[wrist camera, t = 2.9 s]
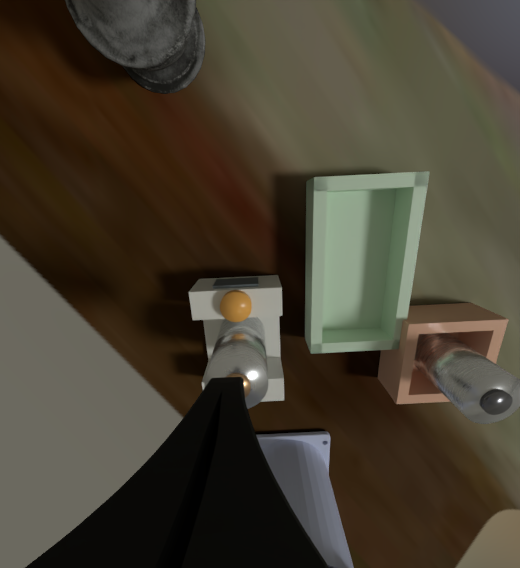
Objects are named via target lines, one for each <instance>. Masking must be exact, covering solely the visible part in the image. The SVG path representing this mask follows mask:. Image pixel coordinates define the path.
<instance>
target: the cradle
mask: <svg viewBox="0 0 520 568" xmlns="http://www.w3.org/2000/svg"><path fill="white" fill-rule="evenodd" d="M189 299H190V306H191V313H192V319H193V320H203V323H204V331H205V338H206V346H207V354H208V364H207V367H206V370H205V374H204V377H203V380H202V388H203V390H204V388H205V384H204V382H205V377H206V373H207V370H208V367H209V363H210V360H211V357H212V353H213V350H214V347H215V343H216V340H217V336H218V333H219V330H220V326H221V324H222V322H223V320H224V319H227V320H229V321H231V322H241V321H243V320H245V319H246V318H250V317H258V318H259V319H260V320H261V322H262V323H263V325H264V329H265V342H266V356H267V370H268V390H267V393H266V395H265V397H264V398H263V399H262V400H261V401H260V402H262V401H282V400H284V376H283V370H282V364H281V358H280V323H279V316H282V286H281V283H280V280H279V277H278V275H268V276H248V277H228V278H208V279H199V280H198V281H197V282H196V283H195V285H194V286H193V287H192V288H191V290H190V291H189Z"/></svg>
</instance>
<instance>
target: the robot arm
mask: <svg viewBox="0 0 520 568" xmlns="http://www.w3.org/2000/svg"><path fill="white" fill-rule="evenodd" d="M329 454H330V435H329V433H328V432H326V431H320V432H300V433H280V434H260V435H256V434H255V431H254V428H253V425H252V422H251V419H250V416H249V413H248V409H247V406H246V401H245V392H244V380H243V378H242V377H221V378H211V379H210V380H209V382H208V384H207V385H206V387H205V388H204V390H203V391H202V393H201V394H200V396H199V397H198V399H197V400H196V402H195V403H194V404H193V406H192V407H191V409H190V410H189V411H188V413H187V414H186V415H185V417H184V418H183V419H182V421H181V422H180V423H179V425H178V426H177V427H176V428H175V430H174V431H173V432H172V433H171V434H170V436H169V437H168V438H167V439H166V441H165V442H164V443H163V444H162V445H161V446H160V447H159V449H158V450H157V451H156V452H155V453H154V454H153V455H152V456H151V458H149V460H148V461H147V462H146V463H145V464H144V465H143V466H142V467H141V468H140V469H139V470H138V471H137V472H136V473H135V474H134V475H133V476H132V477H131V478H130V479H129V480H128V481H127V482H126V483H125V484H124V485H123V486H122V487H121V488H120V489H119V490H118V491H117V492H116V493H114V494H113V495H112V496H111V497H110V498H109V499H108V500H107V501H106V502H105V503H103V504H102V505H101V506H100V507H99V508H98V509H97V510H95V511H94V512H93V513H92V514H91V515H90V516H89V517H87V518H86V519H85V520H84V521H83V522H82V523H81V524H79V525H78V526H77V527H76V528H75V529H73V530H72V531H71V532H70V533H69V534H67V535H66V536H65V537H64V538H62V539H61V540H60V541H59V542H57V543H56V544H55V545H54V546H52V547H51V548H50V549H48V550H47V551H46V552H45V553H43V554H42V555H41V556H40V557H38V558H37V559H36V560H34V561H33V562H32V563H30V564H29V565H28V566H27V567H25V568H354V567H353V564H352V560H351V556H350V553H349V549H348V545H347V541H346V538H345V534H344V530H343V527H342V523H341V519H340V516H339V512H338V508H337V505H336V501H335V497H334V493H333V490H332V486H331V482H330V479H329V475H328V473H329Z"/></svg>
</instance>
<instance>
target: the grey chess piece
mask: <svg viewBox="0 0 520 568" xmlns="http://www.w3.org/2000/svg"><path fill="white" fill-rule="evenodd" d="M65 1H66V5H67V8H68V10H69V12H70V14H71V16H72V18H73V20H74V22H75V24H76V26H77V28H78V29H79V30H80V31H81V33H82V34H83V35H84V36H85V38H86V39H87V40H88V42H89V43H90V44H91V45H92V46H93V47H94V48H95V49H97V50H98V51H99V52H100V53H101V54H103V55H104V56H105V57H106V58H108V59H110V60H112V61H114V62H116V63H118V64H120V65H122V66H123V67H124V69H125V70H126V71H127V72H128V74H129V75H130V76H131V78H132V79H134V80H135V81H136V82H137V83H138V84H140V85H141V86H142V87H144V88H146V89H148V90H150V91H152V92H157V93H163V94H167V93H174V92H177V91H179V90H181V89H183V88H185V87H187V86H188V85H189V84H190V83H191V82H192V81H193V80H194V79H195V77H196V75H197V74H198V72H199V70H200V68H201V65H202V62H203V58H204V55H205V35H204V29H203V24H202V21H201V18H200V16H199V13H198V10H197V8H196V0H65Z"/></svg>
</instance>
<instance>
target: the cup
mask: <svg viewBox="0 0 520 568" xmlns="http://www.w3.org/2000/svg"><path fill="white" fill-rule="evenodd" d="M507 323H508V319H507V318H504V317H502V316H500V315H498V314H495V313H493V312H491V311H489V310H486V309H484V308H482V307H480V306H477V305H475V304H473V303H455V304H435V305H415V306H409V310H408V317H407V320H403V322H402V329H401V336H400V343H399V349H392V350H381V354H380V362H379V370H378V379H379V380H380V382H381V383H382V385H383V386H384V387H385V389H386V390H387V392H388V393H389V394H390V396H391V397H392V399H393V400H394V401H395V403H396V404H410V403H430V402H450V400H449V399H448V398H447V397H446V396H445V395H444V394H443V393H442V392H441V391H440V390H439V389H438V388H437V387H436V386H435V385H434V384H433V383H432V382H431V381H429V380H428V379H427V378H426V377H425V376H424V375H423V374H422V373H421V372H420V371H419V370H418V369H417V368H416V367H415V366H414V359H415V353H416V348H417V342H418V336H419V334H431V333H449V334H450V335H452V336H454V337H455V338H457V339H458V340H460V341H461V342H463V343H464V344H466V345H467V346H469V347H470V348H472V349H474V350H475V351H477V352H478V353H480V354H481V355H483V356H484V357H486V358H487V359H489V360H490V361H492V362H493V363H495V364H496V360H497V357H498V354H499V350H500V347H501V343H502V340H503V336H504V333H505V330H506V326H507Z"/></svg>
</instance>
